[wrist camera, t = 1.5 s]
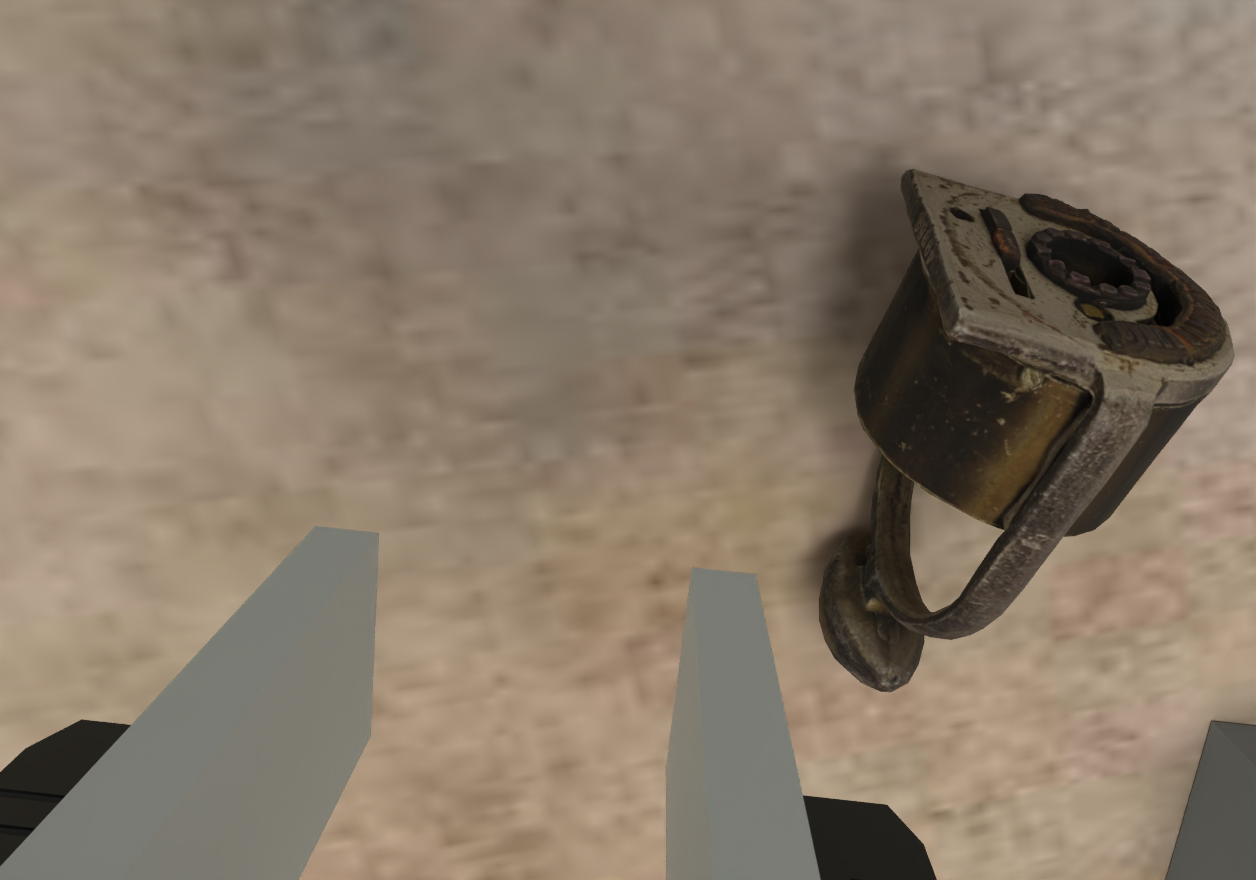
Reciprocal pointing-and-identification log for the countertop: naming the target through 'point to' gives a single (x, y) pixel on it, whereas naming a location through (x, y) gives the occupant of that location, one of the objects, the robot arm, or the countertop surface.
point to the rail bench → (1220, 810)
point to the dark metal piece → (1009, 403)
